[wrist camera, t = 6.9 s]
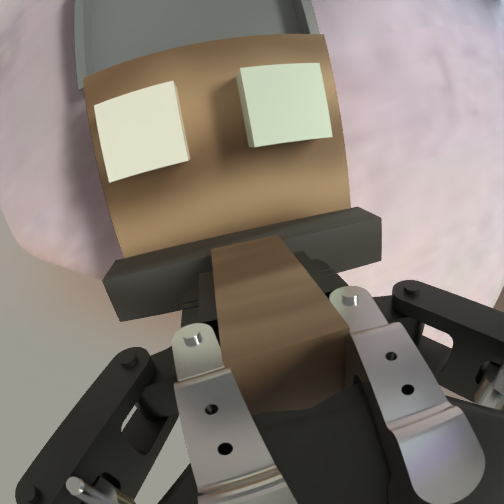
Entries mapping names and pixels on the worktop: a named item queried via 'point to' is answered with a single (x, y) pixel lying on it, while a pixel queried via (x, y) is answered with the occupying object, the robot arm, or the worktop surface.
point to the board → (220, 148)
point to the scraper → (261, 301)
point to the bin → (175, 26)
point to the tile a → (141, 131)
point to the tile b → (283, 103)
